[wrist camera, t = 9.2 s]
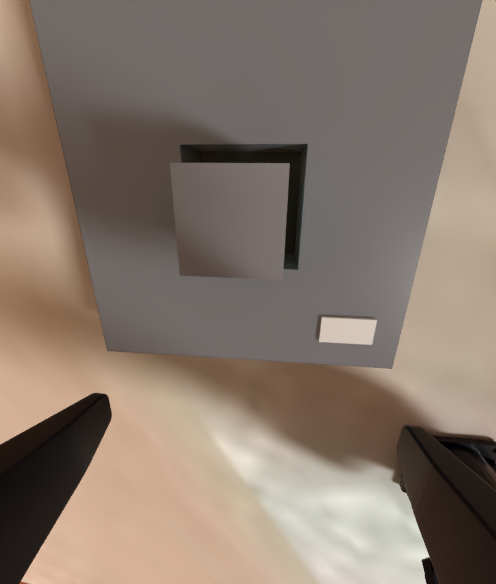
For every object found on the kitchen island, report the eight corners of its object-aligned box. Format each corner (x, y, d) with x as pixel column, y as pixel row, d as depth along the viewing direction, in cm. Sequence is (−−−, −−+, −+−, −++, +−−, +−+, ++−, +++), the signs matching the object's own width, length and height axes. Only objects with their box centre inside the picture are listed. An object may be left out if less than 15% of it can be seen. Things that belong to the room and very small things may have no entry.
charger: (283, 171, 16) (289, 163, 9) (280, 238, 18) (282, 279, 10) (217, 171, 17) (169, 162, 9) (219, 237, 18) (179, 275, 11)
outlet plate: (439, 8, 13) (498, -54, 10) (373, 337, 20) (393, 370, 16) (81, 25, 15) (20, -23, 11) (132, 324, 21) (105, 352, 18)
